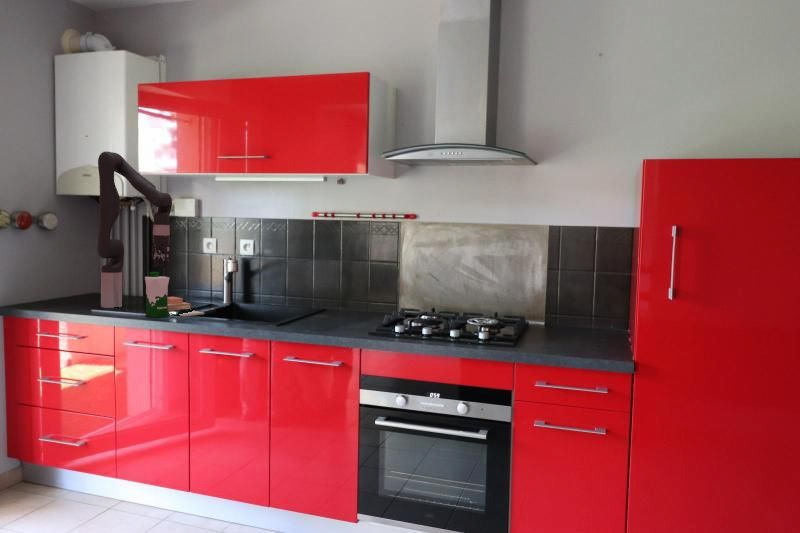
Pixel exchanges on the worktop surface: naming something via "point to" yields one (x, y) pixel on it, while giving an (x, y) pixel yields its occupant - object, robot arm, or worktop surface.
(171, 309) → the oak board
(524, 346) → the worktop surface
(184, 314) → the mat
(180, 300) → the tile
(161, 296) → the milk carton
